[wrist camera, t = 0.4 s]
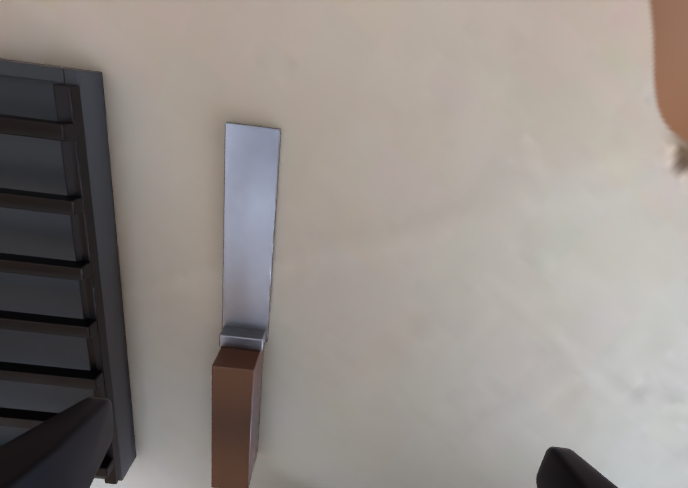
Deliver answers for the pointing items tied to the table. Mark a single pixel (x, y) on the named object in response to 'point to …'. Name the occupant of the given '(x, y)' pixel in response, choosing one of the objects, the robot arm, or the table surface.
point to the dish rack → (59, 256)
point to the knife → (244, 299)
